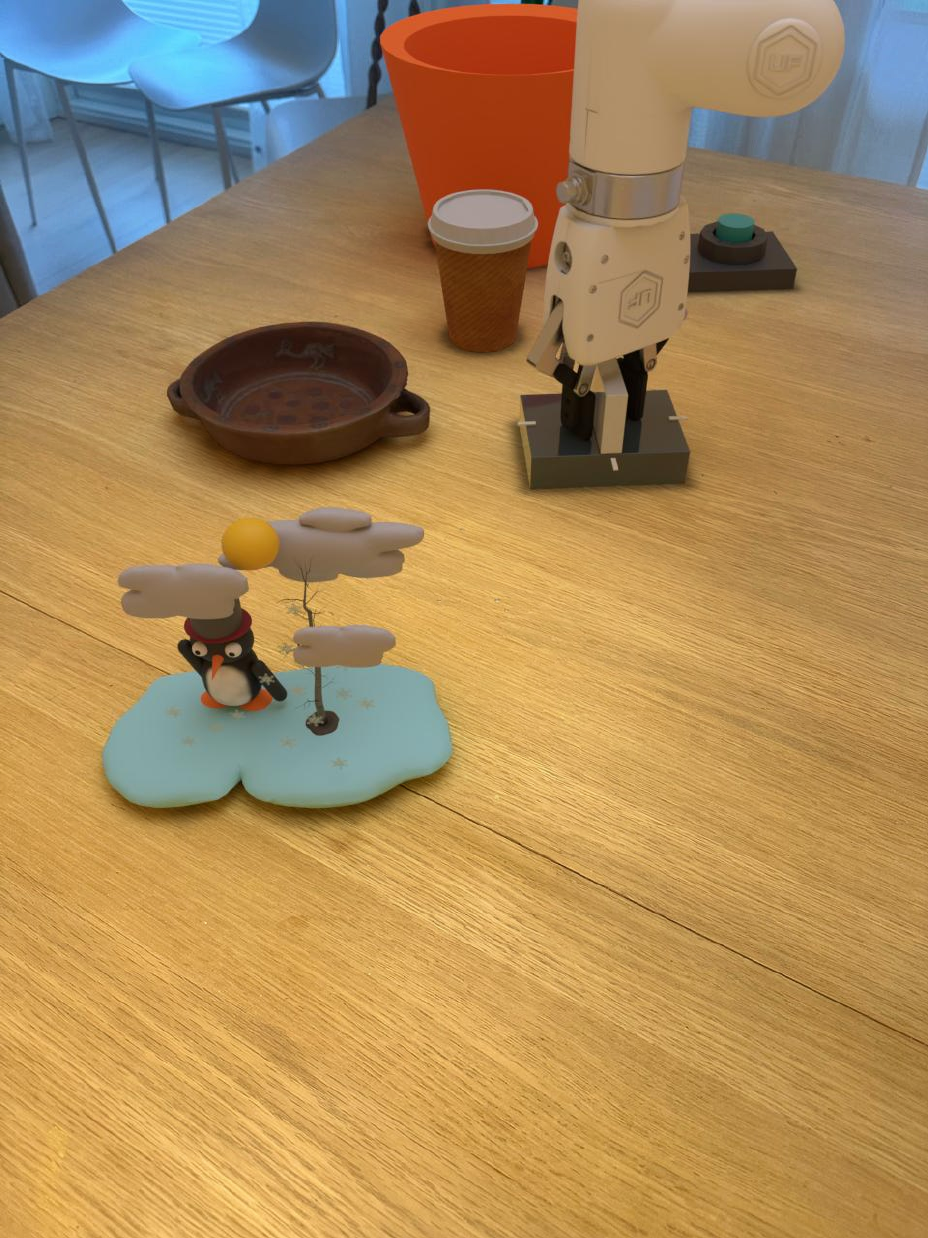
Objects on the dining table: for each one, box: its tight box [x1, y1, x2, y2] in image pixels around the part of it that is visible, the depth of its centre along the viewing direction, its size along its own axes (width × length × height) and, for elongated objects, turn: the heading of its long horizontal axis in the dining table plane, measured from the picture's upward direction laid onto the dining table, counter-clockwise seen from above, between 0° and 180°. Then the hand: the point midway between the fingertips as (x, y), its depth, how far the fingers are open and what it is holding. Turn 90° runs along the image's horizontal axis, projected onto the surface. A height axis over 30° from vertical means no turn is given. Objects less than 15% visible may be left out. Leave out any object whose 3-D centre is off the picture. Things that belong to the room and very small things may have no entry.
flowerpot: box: [379, 3, 578, 269], centre depth 108 cm, size 25×25×20 cm
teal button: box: [715, 212, 756, 242], centre depth 105 cm, size 4×4×2 cm
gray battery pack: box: [590, 358, 628, 454], centre depth 80 cm, size 9×2×5 cm, turn 3°
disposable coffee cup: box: [427, 190, 538, 353], centre depth 94 cm, size 10×10×12 cm
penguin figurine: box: [101, 506, 454, 809], centre depth 57 cm, size 20×11×15 cm, turn 90°
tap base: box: [517, 389, 691, 490], centre depth 83 cm, size 13×13×3 cm
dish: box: [166, 321, 431, 465], centre depth 86 cm, size 18×22×5 cm
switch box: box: [688, 221, 798, 293], centre depth 107 cm, size 11×9×4 cm
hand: (601, 419), depth 82 cm, fingers open, 4 cm apart
